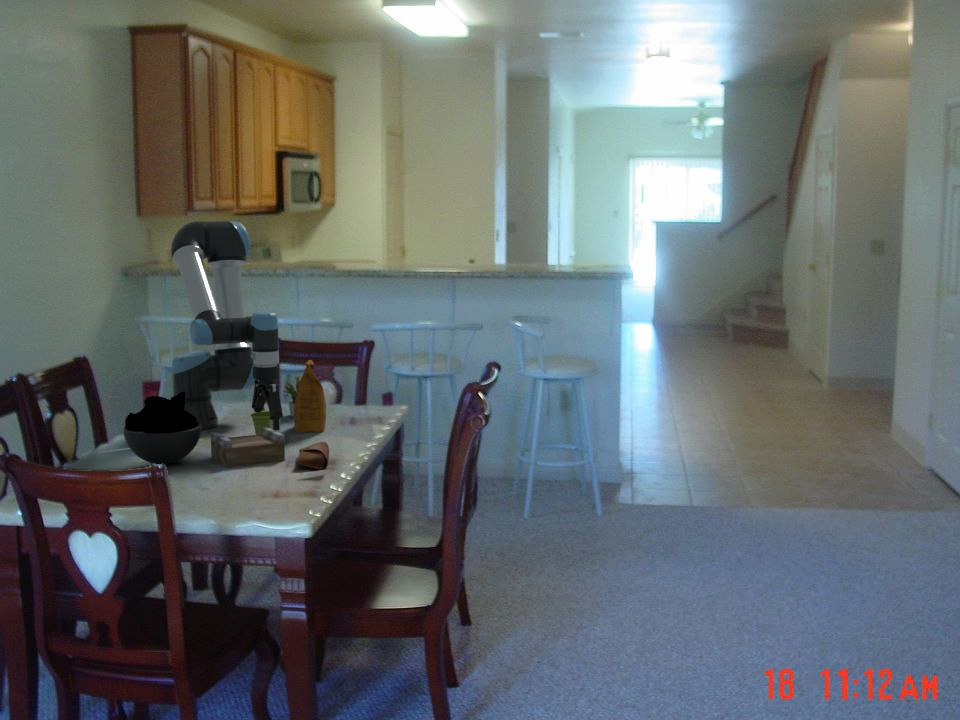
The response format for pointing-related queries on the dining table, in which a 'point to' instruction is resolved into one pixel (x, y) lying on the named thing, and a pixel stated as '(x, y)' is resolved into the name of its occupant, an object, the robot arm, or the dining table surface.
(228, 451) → the raised riser
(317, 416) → the brown tall tapered bottle
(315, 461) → the sunglasses case
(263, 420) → the plant pot
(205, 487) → the dining table surface
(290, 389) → the house plant
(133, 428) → the coal bowl
